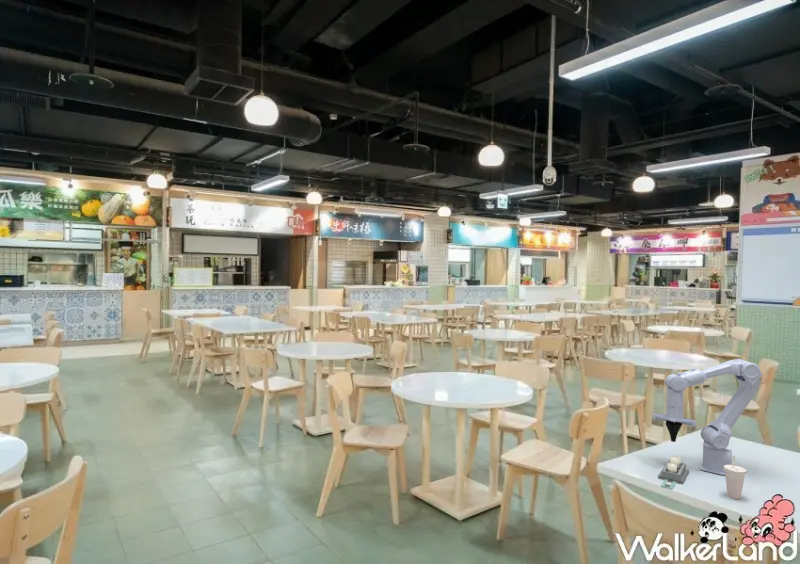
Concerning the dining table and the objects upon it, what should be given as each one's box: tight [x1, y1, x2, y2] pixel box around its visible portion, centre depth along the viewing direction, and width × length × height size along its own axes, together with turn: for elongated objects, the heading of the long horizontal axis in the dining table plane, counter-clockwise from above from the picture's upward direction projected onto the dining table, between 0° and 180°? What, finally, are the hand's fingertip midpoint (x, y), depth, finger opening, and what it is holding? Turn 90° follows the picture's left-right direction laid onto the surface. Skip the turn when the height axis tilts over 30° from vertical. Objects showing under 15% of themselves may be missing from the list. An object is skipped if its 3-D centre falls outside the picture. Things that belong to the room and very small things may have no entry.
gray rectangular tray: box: [657, 459, 690, 485], centre depth 185 cm, size 8×14×3 cm, turn 143°
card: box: [660, 479, 677, 490], centre depth 177 cm, size 4×8×1 cm, turn 143°
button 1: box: [667, 463, 677, 474], centre depth 182 cm, size 3×3×4 cm
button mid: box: [669, 455, 679, 470], centre depth 185 cm, size 3×3×4 cm
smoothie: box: [724, 454, 747, 500], centre depth 168 cm, size 6×6×14 cm
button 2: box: [674, 455, 682, 466], centre depth 189 cm, size 3×3×4 cm
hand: (673, 441), depth 193 cm, fingers closed
